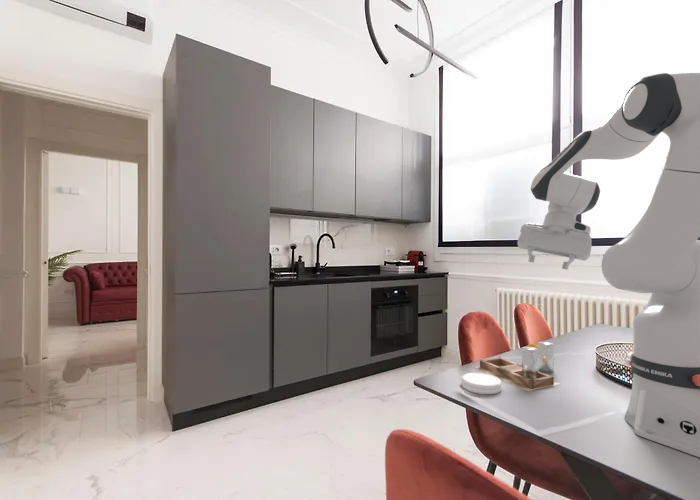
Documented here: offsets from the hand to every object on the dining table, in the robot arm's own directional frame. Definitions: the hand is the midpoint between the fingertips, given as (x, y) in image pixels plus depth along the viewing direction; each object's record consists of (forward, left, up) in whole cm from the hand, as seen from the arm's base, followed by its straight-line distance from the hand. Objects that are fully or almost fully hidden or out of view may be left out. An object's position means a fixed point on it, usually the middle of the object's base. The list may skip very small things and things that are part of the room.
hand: (547, 264), depth 109 cm
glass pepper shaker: (-2, +4, -32) cm, 33 cm away
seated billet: (-7, +16, -31) cm, 36 cm away
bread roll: (+12, -9, -33) cm, 36 cm away
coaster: (-5, +31, -33) cm, 45 cm away
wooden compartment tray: (-2, +16, -32) cm, 36 cm away
